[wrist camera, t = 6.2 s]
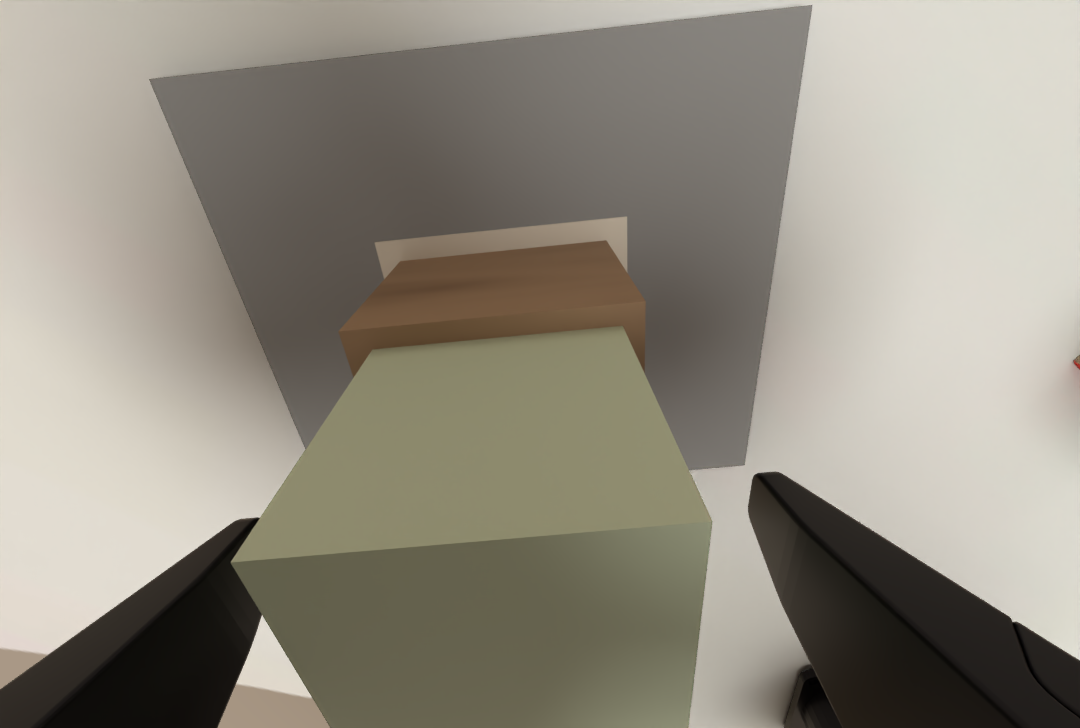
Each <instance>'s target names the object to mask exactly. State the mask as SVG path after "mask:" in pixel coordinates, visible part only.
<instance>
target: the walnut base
mask: <svg viewBox="0 0 1080 728" xmlns="http://www.w3.org/2000/svg"><path fill="white" fill-rule="evenodd" d="M645 314H646V301H645V300H644V298H643V296H642V295H641V293H640V292H639V290H638V289H637V287H636V286H635V284H634V282H633V281H632V279H631V278H630V276H629V275H628V273H627V272H626V270H625V268H624V267H623V265H622V264H621V262H620V261H619V259H618V258H617V256H616V254H615V253H614V251H613V250H612V248H611V247H610V245H609V244H608V242H607V241H606V240H604V241H594V242H584V243H575V244H565V245H555V246H545V247H535V248H525V249H515V250H505V251H496V252H486V253H476V254H466V255H456V256H446V257H436V258H426V259H416V260H407V261H400V262H399V263H398V264H397V265H396V267H395V268H394V269H393V270H392V271H391V272H390V273H389V275H388V276H387V277H386V278H385V279H384V280H383V281H382V282H381V284H380V285H379V286H378V287H377V288H376V289H375V290H374V292H373V293H372V294H371V295H370V296H369V297H368V298H367V299H366V301H365V302H364V303H363V304H362V305H361V306H360V307H359V309H358V310H357V311H356V312H355V313H354V314H353V315H352V316H351V318H350V319H349V320H348V321H347V322H346V323H345V324H344V326H343V327H342V328H341V329H340V330H339V331H338V332H339V335H340V338H341V341H342V344H343V347H344V350H345V353H346V356H347V359H348V363H349V366H350V369H351V372H352V375H353V378H354V376H355V375H356V373H357V372H358V370H359V369H360V367H361V366H362V364H363V363H364V361H365V360H366V358H367V357H368V355H369V354H370V352H371V351H372V350H373V349H383V348H394V347H404V346H415V345H425V344H436V343H446V342H457V341H468V340H478V339H489V338H499V337H510V336H520V335H531V334H541V333H552V332H563V331H573V330H584V329H594V328H605V327H615V326H623V328H624V330H625V332H626V334H627V336H628V338H629V341H630V343H631V345H632V347H633V349H634V352H635V354H636V356H637V358H638V360H639V363H640V365H641V367H642V369H643V371H644V373H645Z"/></svg>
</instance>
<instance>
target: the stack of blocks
mask: <svg viewBox="0 0 1080 728" xmlns="http://www.w3.org/2000/svg"><path fill="white" fill-rule="evenodd" d="M1073 362H1074V364H1075V365H1076V366H1077V367H1078V368H1079V369H1080V355H1079V356H1078V357H1077V358H1076V359H1075V360H1074V361H1073Z"/></svg>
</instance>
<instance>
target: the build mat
mask: <svg viewBox="0 0 1080 728" xmlns="http://www.w3.org/2000/svg"><path fill="white" fill-rule="evenodd" d="M811 11H812V5H809V6H800V7H791V8H782V9H773V10H764V11H755V12H746V13H737V14H728V15H720V16H711V17H702V18H693V19H684V20H675V21H666V22H657V23H648V24H639V25H630V26H621V27H612V28H603V29H594V30H585V31H576V32H567V33H558V34H550V35H541V36H532V37H523V38H514V39H505V40H496V41H487V42H478V43H469V44H460V45H451V46H442V47H433V48H424V49H415V50H406V51H397V52H388V53H380V54H371V55H362V56H353V57H344V58H335V59H326V60H317V61H308V62H299V63H290V64H281V65H272V66H263V67H254V68H245V69H236V70H227V71H218V72H210V73H201V74H192V75H183V76H174V77H165V78H156V79H149V80H150V82H151V85H152V87H153V90H154V92H155V94H156V97H157V99H158V101H159V104H160V106H161V109H162V111H163V113H164V116H165V118H166V120H167V123H168V125H169V127H170V130H171V132H172V135H173V137H174V139H175V142H176V144H177V146H178V149H179V151H180V153H181V156H182V158H183V161H184V163H185V165H186V168H187V170H188V172H189V175H190V177H191V179H192V182H193V184H194V187H195V189H196V191H197V194H198V196H199V198H200V201H201V203H202V206H203V208H204V210H205V213H206V215H207V217H208V220H209V222H210V224H211V227H212V229H213V232H214V234H215V236H216V239H217V241H218V243H219V246H220V248H221V250H222V253H223V255H224V258H225V260H226V262H227V265H228V267H229V269H230V272H231V274H232V276H233V279H234V281H235V284H236V286H237V288H238V291H239V293H240V295H241V298H242V300H243V303H244V305H245V307H246V310H247V312H248V314H249V317H250V319H251V321H252V324H253V326H254V329H255V331H256V333H257V336H258V338H259V340H260V343H261V345H262V347H263V350H264V352H265V355H266V357H267V359H268V362H269V364H270V366H271V369H272V371H273V374H274V376H275V378H276V381H277V383H278V385H279V388H280V390H281V392H282V395H283V397H284V400H285V402H286V404H287V407H288V409H289V411H290V414H291V416H292V418H293V421H294V423H295V426H296V428H297V430H298V433H299V435H300V437H301V440H302V442H303V444H304V447H305V449H306V448H307V447H308V445H309V444H310V442H311V441H312V439H313V438H314V436H315V435H316V433H317V432H318V430H319V429H320V427H321V426H322V424H323V423H324V421H325V420H326V418H327V417H328V415H329V414H330V412H331V411H332V409H333V408H334V406H335V405H336V403H337V402H338V400H339V399H340V397H341V396H342V394H343V393H344V391H345V390H346V388H347V387H348V385H349V384H350V382H351V381H352V379H353V375H352V372H351V369H350V366H349V363H348V359H347V356H346V353H345V350H344V347H343V344H342V341H341V338H340V335H339V332H338V331H339V330H340V329H341V328H342V327H343V326H344V324H345V323H346V322H347V321H348V320H349V319H350V318H351V316H352V315H353V314H354V313H355V312H356V311H357V310H358V309H359V307H360V306H361V305H362V304H363V303H364V302H365V301H366V299H367V298H368V297H369V296H370V295H371V294H372V293H373V292H374V290H375V289H376V288H377V287H378V286H379V285H380V284H381V282H382V281H383V280H384V279H385V278H386V277H387V276H388V275H389V273H390V272H391V271H392V270H393V269H394V268H395V267H396V265H397V264H398V263H399V262H400V261H407V260H416V259H426V258H436V257H446V256H456V255H466V254H476V253H486V252H496V251H505V250H515V249H525V248H535V247H545V246H555V245H565V244H575V243H584V242H594V241H604V240H606V241H607V242H608V244H609V245H610V247H611V248H612V250H613V251H614V253H615V254H616V256H617V258H618V259H619V261H620V262H621V264H622V265H623V267H624V268H625V270H626V272H627V273H628V275H629V276H630V278H631V279H632V281H633V282H634V284H635V286H636V287H637V289H638V290H639V292H640V293H641V295H642V296H643V298H644V300H645V301H646V314H645V376H646V378H647V380H648V382H649V384H650V387H651V389H652V391H653V393H654V395H655V397H656V400H657V402H658V404H659V406H660V408H661V411H662V413H663V415H664V417H665V419H666V421H667V424H668V426H669V428H670V430H671V432H672V435H673V437H674V439H675V441H676V443H677V445H678V448H679V450H680V452H681V454H682V456H683V459H684V461H685V463H686V465H687V467H688V469H689V470H697V469H708V468H719V467H730V466H741V465H745V458H746V451H747V445H748V438H749V431H750V424H751V417H752V411H753V404H754V397H755V390H756V384H757V377H758V370H759V363H760V357H761V350H762V343H763V336H764V329H765V323H766V316H767V309H768V302H769V296H770V289H771V282H772V275H773V268H774V262H775V255H776V248H777V241H778V235H779V228H780V221H781V214H782V208H783V201H784V194H785V187H786V180H787V174H788V167H789V160H790V153H791V147H792V140H793V133H794V126H795V119H796V113H797V106H798V99H799V92H800V86H801V79H802V72H803V65H804V59H805V52H806V45H807V38H808V31H809V25H810V18H811Z"/></svg>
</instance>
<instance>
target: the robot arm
mask: <svg viewBox="0 0 1080 728" xmlns="http://www.w3.org/2000/svg"><path fill="white" fill-rule="evenodd" d="M748 513H749V518H750V521H751V524H752V527H753V529H754V532H755V535H756V538H757V540H758V543H759V546H760V548H761V551H762V554H763V556H764V559H765V562H766V564H767V567H768V570H769V573H770V575H771V578H772V581H773V583H774V586H775V589H776V591H777V594H778V596H779V599H780V601H781V603H782V606H783V608H784V610H785V612H786V614H787V616H788V618H789V620H790V622H791V624H792V626H793V628H794V630H795V633H796V635H797V637H798V639H799V641H800V643H801V645H802V647H803V649H804V651H805V653H806V655H807V657H808V659H809V661H810V663H811V665H812V667H813V669H808V670H805V671H803V672H802V673H801V674H800V675H799V679H798V682H797V685H796V688H795V692H794V695H793V698H792V702H791V705H790V708H789V711H788V715H787V718H786V721H785V725H784V728H1080V660H1078V659H1077V658H1075V657H1073V656H1072V655H1070V654H1068V653H1067V652H1065V651H1063V650H1062V649H1060V648H1059V647H1057V646H1055V645H1054V644H1052V643H1050V642H1049V641H1047V640H1046V639H1044V638H1043V637H1041V636H1039V635H1038V634H1036V633H1035V632H1033V631H1031V630H1030V629H1028V628H1027V627H1025V626H1023V625H1022V624H1020V623H1019V622H1012V620H1011V618H1010V617H1009V616H1007V615H1006V614H1004V613H1002V612H1001V611H999V610H998V609H996V608H995V607H993V606H991V605H990V604H988V603H987V602H985V601H983V600H982V599H980V598H979V597H977V596H975V595H974V594H972V593H971V592H969V591H968V590H966V589H964V588H963V587H961V586H960V585H958V584H956V583H955V582H953V581H952V580H950V579H949V578H947V577H945V576H944V575H942V574H941V573H939V572H937V571H936V570H934V569H933V568H931V567H929V566H928V565H926V564H925V563H923V562H922V561H920V560H918V559H917V558H915V557H914V556H912V555H910V554H909V553H907V552H906V551H904V550H902V549H901V548H899V547H898V546H896V545H895V544H893V543H891V542H890V541H888V540H887V539H885V538H883V537H882V536H880V535H879V534H877V533H875V532H874V531H872V530H871V529H869V528H868V527H866V526H864V525H863V524H861V523H860V522H858V521H856V520H855V519H853V518H852V517H850V516H848V515H847V514H845V513H844V512H842V511H841V510H839V509H837V508H836V507H834V506H833V505H831V504H829V503H828V502H826V501H825V500H823V499H822V498H820V497H818V496H817V495H815V494H814V493H812V492H810V491H809V490H807V489H806V488H804V487H802V486H801V485H799V484H798V483H796V482H795V481H793V480H791V479H790V478H788V477H787V476H785V475H783V474H782V473H779V472H766V473H757V474H755V475H754V477H753V480H752V485H751V491H750V497H749V504H748ZM259 519H260V518H246V519H239V520H236V521H235V522H233V523H232V524H230V525H229V526H227V527H226V528H225V529H223V530H222V531H220V532H219V533H218V534H216V535H215V536H213V537H212V538H211V539H209V540H208V541H206V542H205V543H204V544H202V545H201V546H199V547H198V548H197V549H195V550H194V551H192V552H191V553H190V554H188V555H187V556H185V557H184V558H183V559H181V560H180V561H179V562H177V563H176V564H174V565H173V566H172V567H170V568H169V569H167V570H166V571H165V572H163V573H162V574H160V575H159V576H158V577H156V578H155V579H153V580H152V581H151V582H149V583H148V584H146V585H145V586H144V587H142V588H141V589H139V590H138V591H137V592H135V593H134V594H132V595H131V596H130V597H128V598H127V599H125V600H124V601H123V602H121V603H120V604H118V605H117V606H116V607H114V608H113V609H112V610H110V611H109V612H107V613H106V614H105V615H103V616H102V617H100V618H99V619H98V620H96V621H95V622H93V623H92V624H91V625H89V626H88V627H86V628H85V629H84V630H82V631H81V632H79V633H78V634H77V635H75V636H74V637H72V638H71V639H70V640H68V641H67V642H65V643H64V644H63V645H61V646H60V647H58V648H57V649H56V650H54V651H53V652H51V653H50V654H49V655H47V656H46V657H45V658H43V659H42V660H41V661H39V662H38V663H36V664H35V665H33V666H32V667H31V668H29V669H28V670H26V671H25V672H24V673H22V674H21V675H20V676H18V677H17V678H15V679H14V680H12V681H11V682H10V683H8V684H7V685H6V686H4V687H3V688H2V689H0V728H218V725H219V722H220V720H221V718H222V716H223V713H224V711H225V709H226V706H227V704H228V701H229V699H230V697H231V694H232V692H233V689H234V687H235V685H236V682H237V680H238V678H239V675H240V673H241V671H242V668H243V666H244V664H245V661H246V659H247V656H248V654H249V651H250V649H251V646H252V643H253V640H254V637H255V635H256V632H257V629H258V625H259V622H260V619H261V616H262V614H261V612H260V610H259V609H258V607H257V606H256V604H255V602H254V601H253V599H252V597H251V596H250V594H249V592H248V591H247V589H246V587H245V586H244V584H243V582H242V581H241V579H240V577H239V576H238V574H237V572H236V571H235V569H234V567H233V566H232V564H231V563H230V562H231V561H232V559H233V558H234V556H235V555H236V553H237V552H238V550H239V549H240V547H241V546H242V544H243V543H244V541H245V540H246V538H247V537H248V535H249V534H250V532H251V531H252V529H253V528H254V526H255V525H256V523H257V522H258V520H259Z"/></svg>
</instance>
